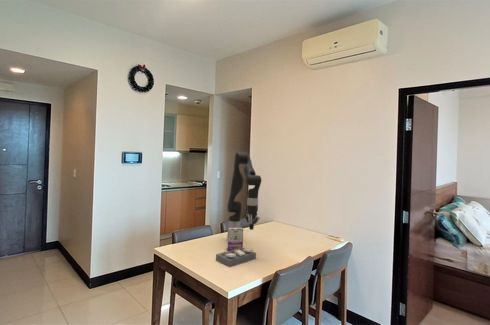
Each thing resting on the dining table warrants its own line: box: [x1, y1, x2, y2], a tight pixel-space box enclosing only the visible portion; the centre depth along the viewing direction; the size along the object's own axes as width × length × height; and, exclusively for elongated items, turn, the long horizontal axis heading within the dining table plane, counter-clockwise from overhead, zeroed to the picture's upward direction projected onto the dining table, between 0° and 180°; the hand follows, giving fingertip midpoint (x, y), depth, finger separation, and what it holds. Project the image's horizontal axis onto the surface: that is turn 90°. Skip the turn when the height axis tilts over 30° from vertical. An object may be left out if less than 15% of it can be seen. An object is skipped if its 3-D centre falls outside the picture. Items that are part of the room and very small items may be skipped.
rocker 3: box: [243, 247, 254, 252], centre depth 190 cm, size 6×4×2 cm, turn 44°
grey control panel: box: [215, 247, 257, 268], centre depth 186 cm, size 14×24×4 cm, turn 134°
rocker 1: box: [225, 253, 236, 257], centre depth 179 cm, size 6×4×2 cm, turn 44°
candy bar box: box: [226, 227, 244, 251], centre depth 205 cm, size 11×5×16 cm, turn 101°
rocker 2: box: [234, 249, 245, 256], centre depth 184 cm, size 6×4×2 cm, turn 44°
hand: (251, 229), depth 188 cm, fingers closed
